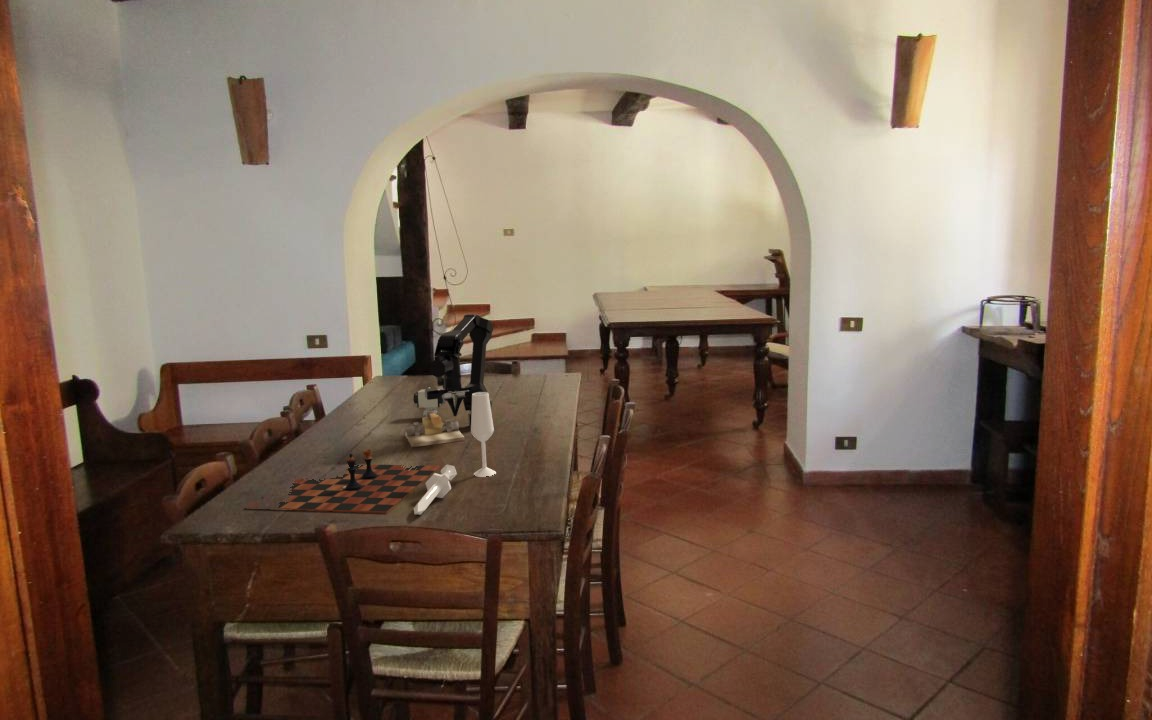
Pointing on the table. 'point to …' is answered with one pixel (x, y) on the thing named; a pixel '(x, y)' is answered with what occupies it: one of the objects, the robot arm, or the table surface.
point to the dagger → (436, 487)
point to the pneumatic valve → (427, 401)
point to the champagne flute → (482, 427)
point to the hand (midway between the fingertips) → (454, 416)
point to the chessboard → (358, 488)
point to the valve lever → (434, 417)
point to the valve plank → (435, 438)
